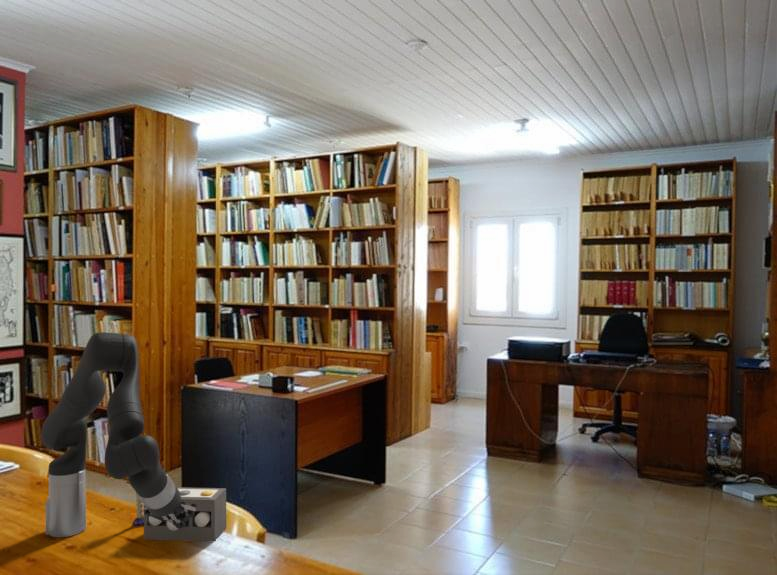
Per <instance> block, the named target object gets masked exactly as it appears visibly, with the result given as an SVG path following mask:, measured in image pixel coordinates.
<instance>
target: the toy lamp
mask: <svg viewBox="0 0 777 575" xmlns="http://www.w3.org/2000/svg"><path fill="white" fill-rule="evenodd" d="M135 495H136V500H135V501H136V505H135V506H136V518H135V519H134V520H133V522H132V526H133V525H134V526H133V527H135V526H141V525H144V504H143V503H142V501H141V500H140V498H139V496H138V494H137V493H136V492H135ZM141 527H142V526H141Z"/></svg>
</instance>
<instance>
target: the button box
mask: <svg viewBox="0 0 777 575" xmlns="http://www.w3.org/2000/svg"><path fill="white" fill-rule="evenodd" d="M176 487H177V486H176ZM177 489H178V490H179V492H180V495H181V499H182V500H183V501H185V502H186V505H191V504H196V505H197V506H196V510H195V513H194V516H192V517H191V518H190V519H189V520H188V521H187V522H186V523H185V527H183V528H178V529H177V530H175V531H172V530H170V529H169V528H168V526H167V521H168V520H166V521H165V522H163V521H162V522H161V523H160V524H159V525H157V526H154V525H151V524H150V522H149V516H148V515H146V514H144V513H143V514H144V515H143V517H144V526H143V540H144V539H149V540H150V541H175V540H184V541H185V542H209V541H215V542H217V540H218V539H217V538H220V536H221V535H222V534H223V533H224V531H226V529H227V488H223V487H221V488H218V487H177ZM145 507H146V506H145V505H144V504H143V512H144V511H145ZM184 511H185V510H184ZM201 511H210V512H211V520H210V521H209V522H208V523H207V524H206V525H205V526H204V527H199V526H197V525H196V524H195V517H196V516H197V515H198V514H199V513H200V512H201ZM216 539H217V540H216ZM186 540H188V541H186ZM184 541H183V542H184Z"/></svg>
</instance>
